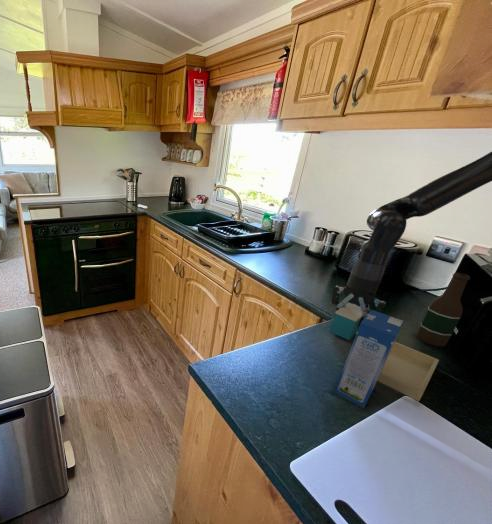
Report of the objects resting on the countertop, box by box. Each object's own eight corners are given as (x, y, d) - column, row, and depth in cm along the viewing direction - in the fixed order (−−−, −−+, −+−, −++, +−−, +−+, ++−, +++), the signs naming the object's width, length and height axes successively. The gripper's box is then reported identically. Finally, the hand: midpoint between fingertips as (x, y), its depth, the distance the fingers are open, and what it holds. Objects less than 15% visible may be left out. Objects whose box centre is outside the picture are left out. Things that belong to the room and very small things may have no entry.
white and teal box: (362, 328, 96) (370, 309, 94) (349, 340, 89) (357, 319, 86) (342, 320, 101) (349, 301, 98) (328, 331, 93) (335, 311, 91)
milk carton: (345, 374, 78) (371, 309, 70) (373, 388, 73) (404, 320, 66) (333, 392, 71) (360, 322, 64) (363, 408, 67) (396, 335, 60)
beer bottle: (451, 350, 92) (488, 281, 83) (421, 343, 94) (454, 276, 85) (437, 336, 98) (469, 272, 90) (409, 331, 101) (439, 267, 92)
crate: (434, 369, 82) (439, 359, 81) (417, 404, 69) (423, 393, 68) (369, 341, 93) (373, 332, 92) (344, 366, 81) (348, 357, 79)
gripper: (399, 280, 85) (378, 329, 91) (344, 265, 95) (329, 309, 101) (392, 286, 80) (371, 336, 86) (335, 269, 91) (320, 315, 97)
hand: (348, 321), depth 94 cm, fingers closed on white and teal box, 6 cm apart
